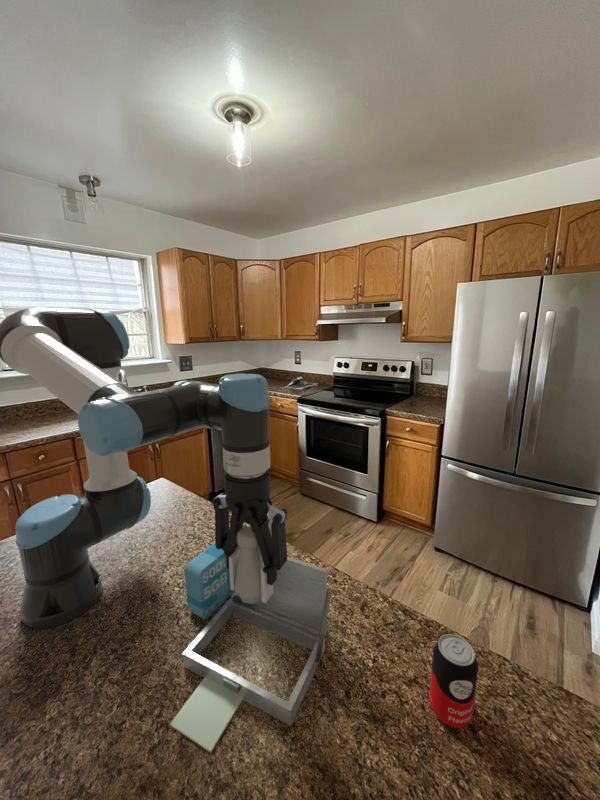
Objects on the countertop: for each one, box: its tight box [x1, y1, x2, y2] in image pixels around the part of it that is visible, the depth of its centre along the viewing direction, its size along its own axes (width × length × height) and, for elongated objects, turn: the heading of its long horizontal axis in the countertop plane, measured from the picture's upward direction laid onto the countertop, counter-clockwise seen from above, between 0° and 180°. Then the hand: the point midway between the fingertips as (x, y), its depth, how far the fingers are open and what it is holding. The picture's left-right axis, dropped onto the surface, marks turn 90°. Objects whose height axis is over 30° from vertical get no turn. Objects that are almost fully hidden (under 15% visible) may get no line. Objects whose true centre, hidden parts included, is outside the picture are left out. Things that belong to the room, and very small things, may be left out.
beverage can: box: [428, 633, 479, 729], centre depth 53 cm, size 6×6×12 cm
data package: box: [184, 542, 231, 620], centre depth 76 cm, size 12×4×12 cm, turn 149°
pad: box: [169, 677, 244, 754], centre depth 54 cm, size 8×8×1 cm
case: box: [182, 546, 332, 727], centre depth 61 cm, size 23×16×17 cm
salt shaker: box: [235, 524, 264, 604], centre depth 59 cm, size 6×6×13 cm
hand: (251, 590), depth 60 cm, fingers closed on salt shaker, 6 cm apart
